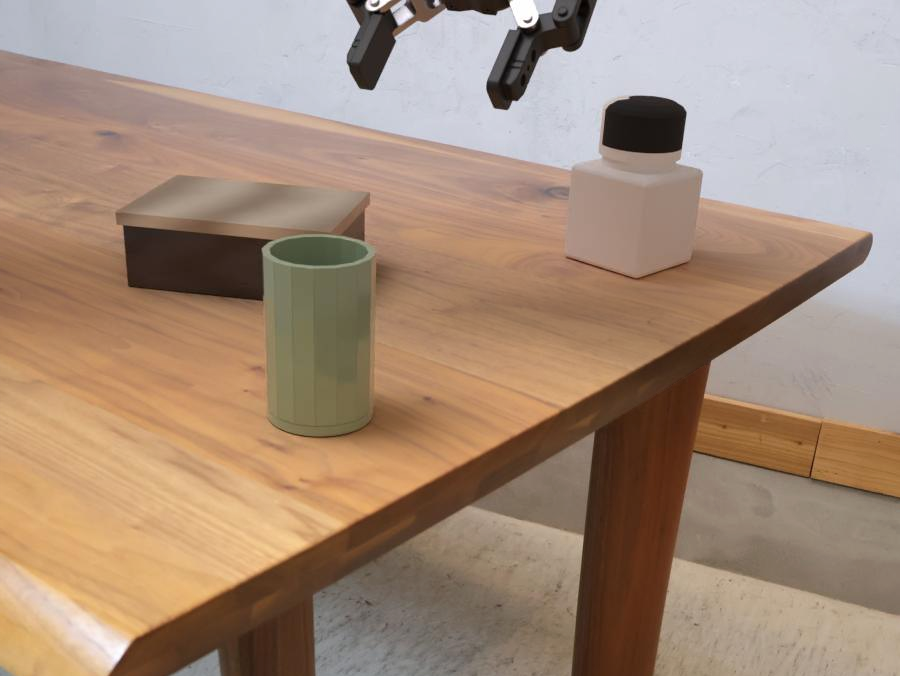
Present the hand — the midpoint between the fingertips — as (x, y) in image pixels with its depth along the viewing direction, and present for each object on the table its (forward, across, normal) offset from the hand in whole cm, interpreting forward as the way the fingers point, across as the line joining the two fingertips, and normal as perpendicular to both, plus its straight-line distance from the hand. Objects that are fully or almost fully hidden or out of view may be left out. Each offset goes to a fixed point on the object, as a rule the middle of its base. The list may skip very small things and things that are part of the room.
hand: (426, 90), depth 63 cm
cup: (+18, 0, +3) cm, 19 cm away
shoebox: (+7, -17, +15) cm, 24 cm away
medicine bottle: (-7, +4, +29) cm, 30 cm away
